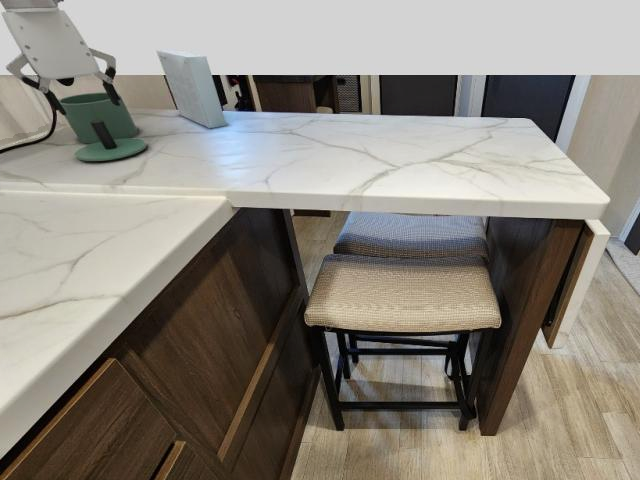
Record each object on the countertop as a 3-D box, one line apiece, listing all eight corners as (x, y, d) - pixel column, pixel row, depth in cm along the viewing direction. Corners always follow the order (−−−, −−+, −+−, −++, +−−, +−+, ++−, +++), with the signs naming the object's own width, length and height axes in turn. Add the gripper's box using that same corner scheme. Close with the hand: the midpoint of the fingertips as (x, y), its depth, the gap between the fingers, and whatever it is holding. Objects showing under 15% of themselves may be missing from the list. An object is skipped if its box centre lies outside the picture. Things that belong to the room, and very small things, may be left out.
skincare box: (229, 125, 92) (206, 55, 81) (210, 129, 89) (184, 57, 78) (197, 111, 103) (174, 48, 92) (179, 114, 100) (152, 49, 89)
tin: (87, 147, 79) (62, 107, 73) (74, 136, 85) (50, 98, 79) (144, 135, 85) (126, 97, 80) (129, 125, 92) (110, 90, 86)
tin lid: (86, 169, 69) (65, 135, 65) (71, 153, 76) (50, 121, 71) (156, 152, 76) (141, 121, 72) (136, 139, 83) (121, 109, 79)
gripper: (80, -1, 65) (130, 99, 76) (-41, 2, 56) (36, 114, 67) (90, -1, 61) (141, 104, 73) (-38, 2, 52) (43, 121, 64)
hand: (91, 109), depth 70 cm, fingers open, 9 cm apart
